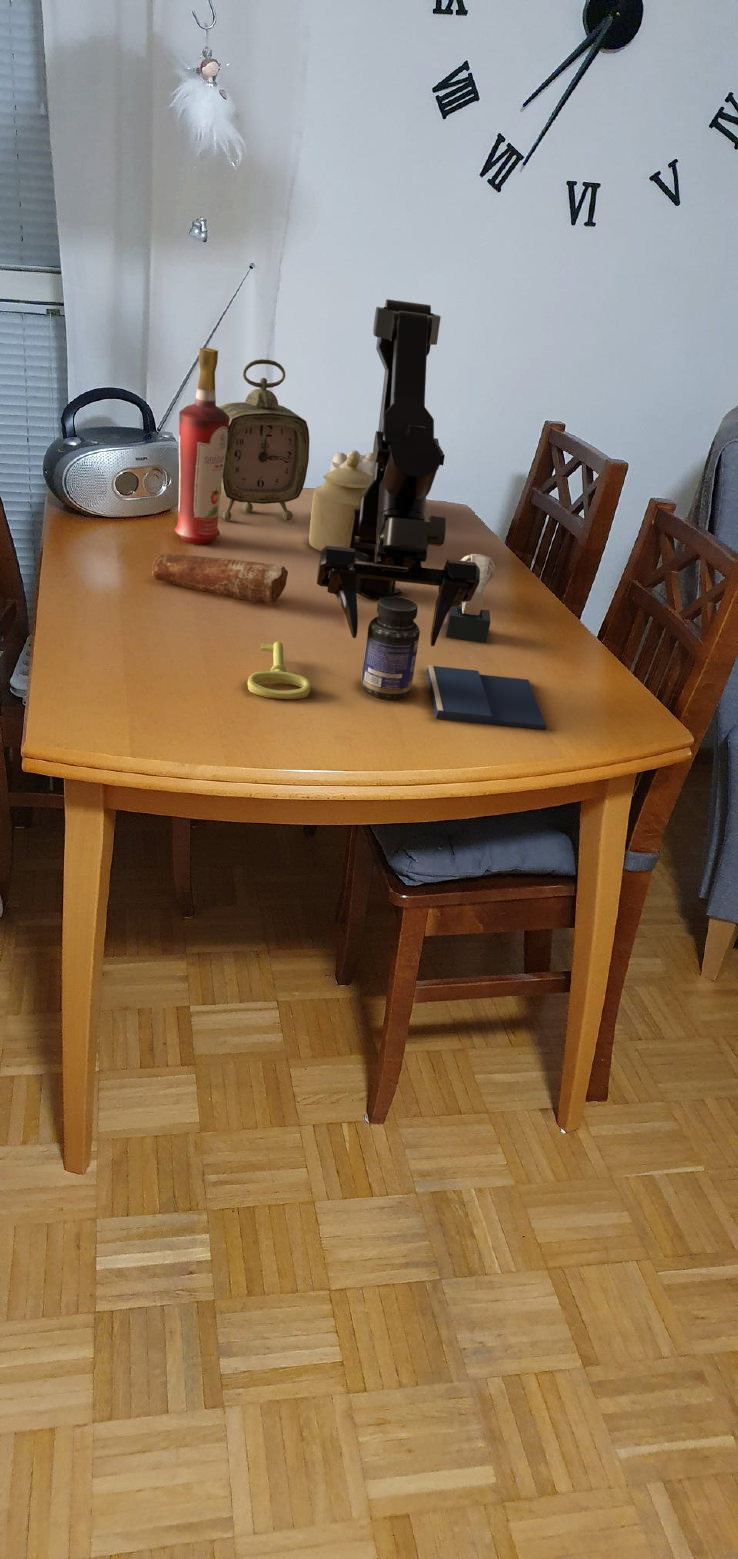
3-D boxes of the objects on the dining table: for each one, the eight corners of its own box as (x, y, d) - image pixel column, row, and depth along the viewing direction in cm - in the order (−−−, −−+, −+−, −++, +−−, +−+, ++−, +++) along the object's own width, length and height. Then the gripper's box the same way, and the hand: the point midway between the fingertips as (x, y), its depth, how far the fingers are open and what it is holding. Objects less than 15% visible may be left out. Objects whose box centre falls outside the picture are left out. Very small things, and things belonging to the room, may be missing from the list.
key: (279, 655, 148) (281, 639, 147) (315, 699, 138) (317, 682, 137) (224, 658, 145) (225, 642, 144) (256, 702, 136) (258, 685, 135)
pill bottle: (417, 700, 142) (431, 613, 137) (368, 701, 140) (381, 613, 135) (400, 678, 147) (413, 594, 142) (353, 679, 145) (365, 593, 140)
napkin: (426, 673, 149) (427, 664, 149) (527, 683, 151) (529, 675, 150) (435, 718, 138) (437, 709, 137) (545, 729, 139) (547, 720, 139)
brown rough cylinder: (276, 613, 161) (279, 573, 158) (145, 584, 164) (146, 545, 161) (290, 599, 166) (294, 560, 163) (163, 571, 169) (165, 532, 167)
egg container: (324, 510, 205) (330, 460, 201) (328, 490, 217) (333, 442, 212) (384, 518, 206) (391, 468, 202) (385, 498, 217) (391, 450, 213)
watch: (485, 626, 167) (499, 550, 161) (486, 647, 160) (501, 569, 154) (445, 620, 167) (458, 544, 161) (445, 641, 160) (459, 563, 154)
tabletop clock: (217, 524, 191) (229, 363, 179) (201, 507, 198) (211, 350, 186) (301, 524, 197) (318, 368, 185) (283, 507, 204) (297, 355, 192)
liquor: (195, 529, 188) (207, 343, 174) (230, 542, 184) (245, 353, 171) (162, 537, 182) (171, 345, 169) (198, 550, 179) (210, 356, 165)
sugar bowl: (396, 541, 196) (410, 449, 189) (404, 563, 186) (419, 468, 179) (306, 532, 194) (316, 439, 187) (309, 554, 184) (320, 457, 177)
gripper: (329, 476, 134) (319, 603, 130) (492, 496, 136) (487, 621, 132) (321, 523, 145) (311, 642, 141) (472, 541, 147) (467, 659, 142)
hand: (394, 640), depth 139 cm, fingers open, 9 cm apart
